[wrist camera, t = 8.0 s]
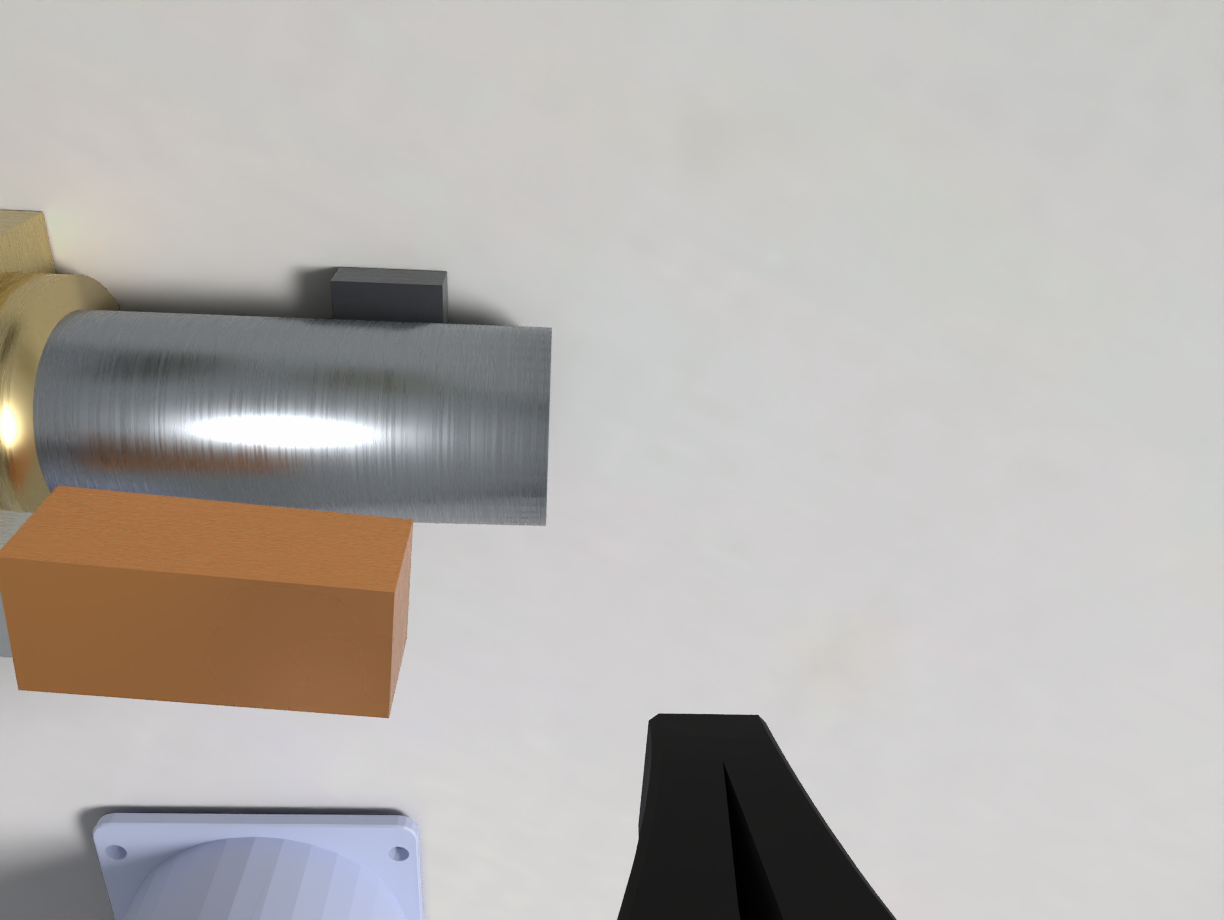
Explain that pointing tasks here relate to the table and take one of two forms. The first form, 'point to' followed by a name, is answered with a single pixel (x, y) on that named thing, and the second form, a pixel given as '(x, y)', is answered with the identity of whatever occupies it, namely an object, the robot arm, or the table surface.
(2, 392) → the valve pipe
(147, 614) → the valve lever
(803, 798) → the robot arm
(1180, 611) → the table surface
